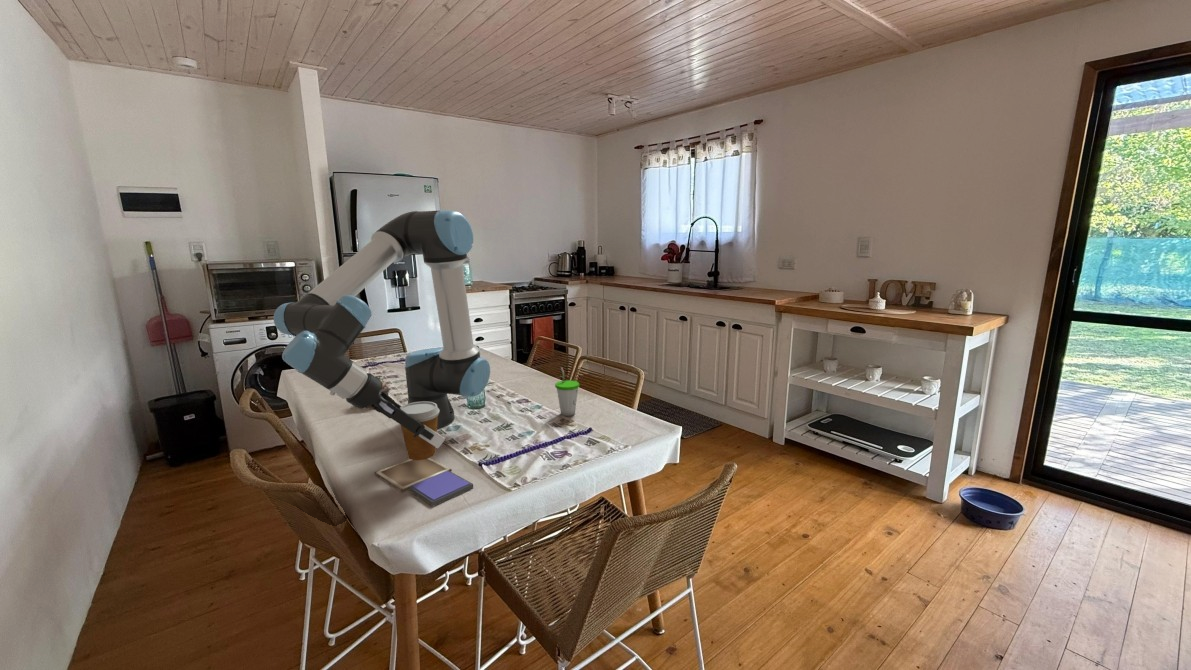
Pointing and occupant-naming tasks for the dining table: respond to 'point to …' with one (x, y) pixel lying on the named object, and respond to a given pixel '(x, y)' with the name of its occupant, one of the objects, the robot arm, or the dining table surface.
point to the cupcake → (384, 389)
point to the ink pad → (440, 487)
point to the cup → (567, 395)
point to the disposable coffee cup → (424, 415)
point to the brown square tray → (411, 472)
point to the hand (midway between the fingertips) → (434, 436)
